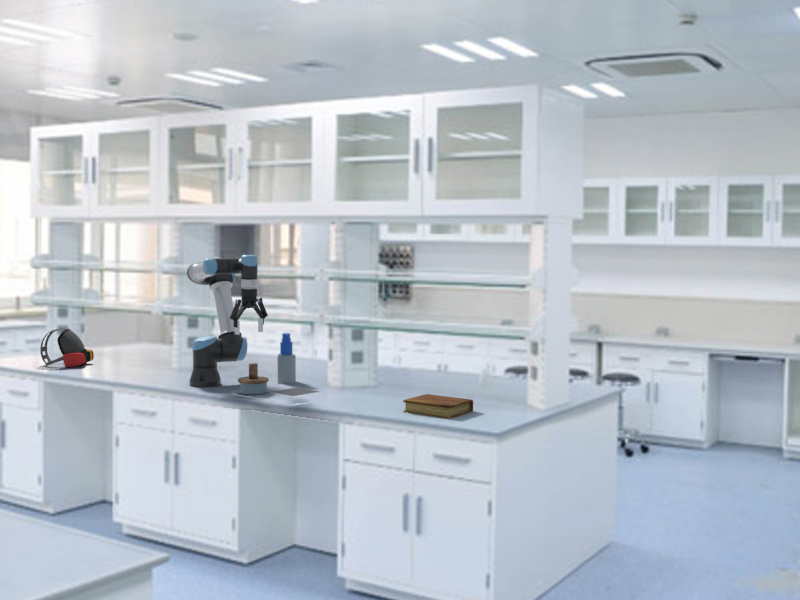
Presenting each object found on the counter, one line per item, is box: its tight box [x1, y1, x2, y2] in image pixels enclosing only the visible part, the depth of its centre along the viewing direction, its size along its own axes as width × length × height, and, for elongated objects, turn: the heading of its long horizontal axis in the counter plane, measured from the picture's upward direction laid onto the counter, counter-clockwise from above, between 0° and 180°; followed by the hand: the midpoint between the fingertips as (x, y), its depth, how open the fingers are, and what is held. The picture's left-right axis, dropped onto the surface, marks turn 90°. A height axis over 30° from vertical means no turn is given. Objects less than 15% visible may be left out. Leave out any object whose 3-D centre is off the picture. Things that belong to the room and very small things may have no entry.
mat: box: [271, 387, 320, 397], centre depth 425 cm, size 16×16×1 cm
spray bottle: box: [276, 332, 297, 385], centre depth 451 cm, size 9×9×25 cm
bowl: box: [239, 382, 268, 397], centre depth 422 cm, size 12×12×6 cm
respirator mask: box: [39, 328, 95, 368], centre depth 508 cm, size 22×24×25 cm
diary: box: [402, 393, 474, 419], centre depth 383 cm, size 23×19×6 cm
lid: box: [237, 362, 270, 384], centre depth 421 cm, size 14×14×8 cm
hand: (248, 333), depth 428 cm, fingers open, 13 cm apart
